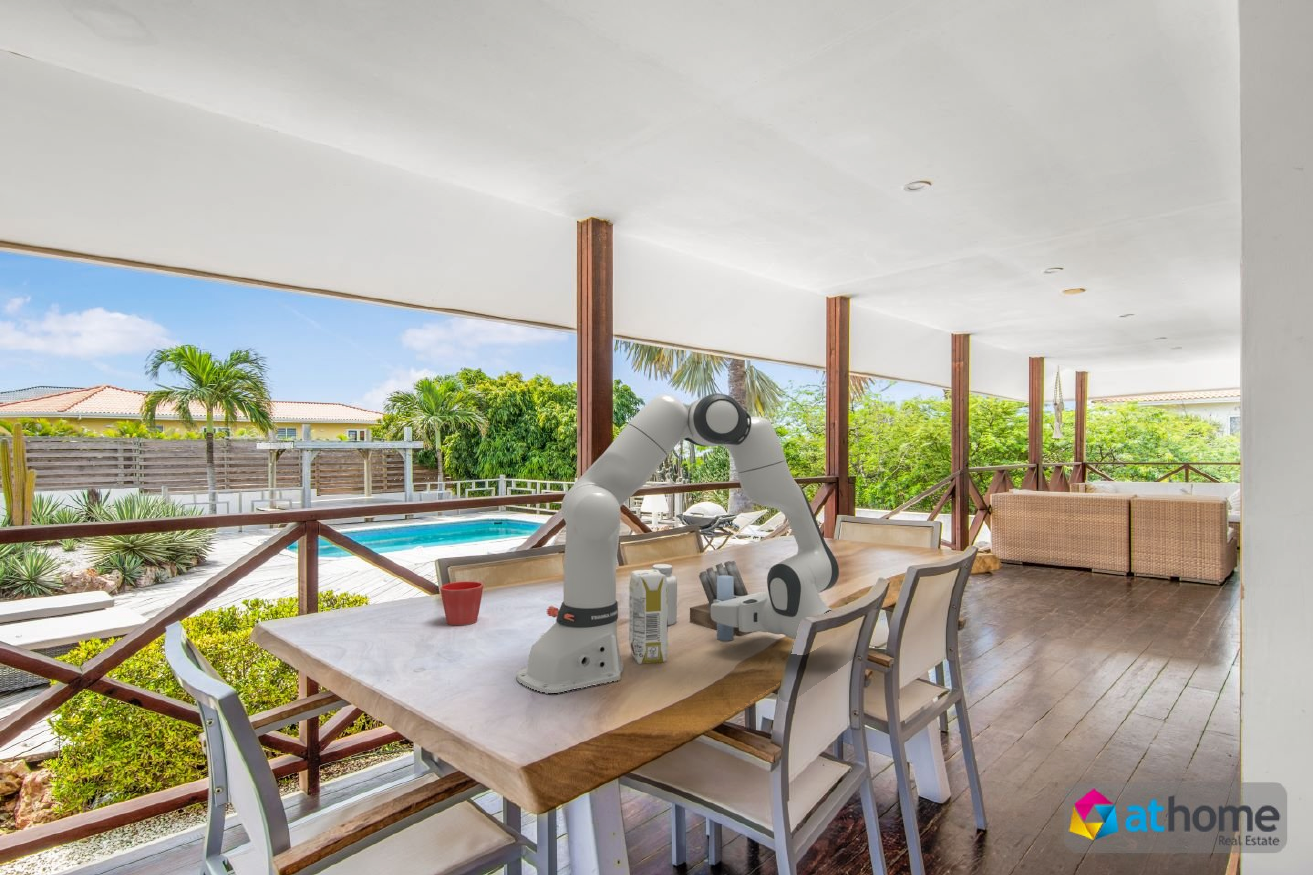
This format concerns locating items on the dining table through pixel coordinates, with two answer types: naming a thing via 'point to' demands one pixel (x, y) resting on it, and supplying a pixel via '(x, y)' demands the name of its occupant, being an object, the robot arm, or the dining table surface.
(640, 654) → the juice carton
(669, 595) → the pill bottle
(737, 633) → the slanted rod rack
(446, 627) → the dining table surface
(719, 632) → the peg
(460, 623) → the flower pot
